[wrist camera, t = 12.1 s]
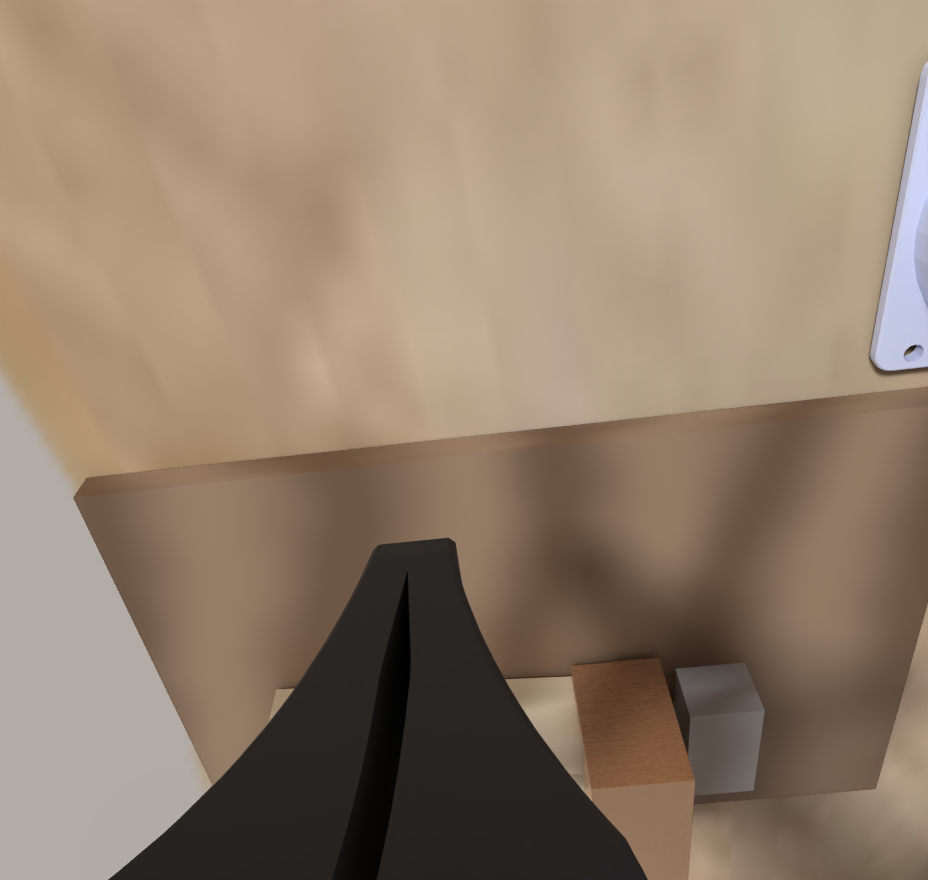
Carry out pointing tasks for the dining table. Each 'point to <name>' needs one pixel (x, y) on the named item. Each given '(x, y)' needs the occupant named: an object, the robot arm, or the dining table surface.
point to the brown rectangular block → (637, 761)
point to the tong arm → (534, 715)
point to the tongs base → (570, 571)
